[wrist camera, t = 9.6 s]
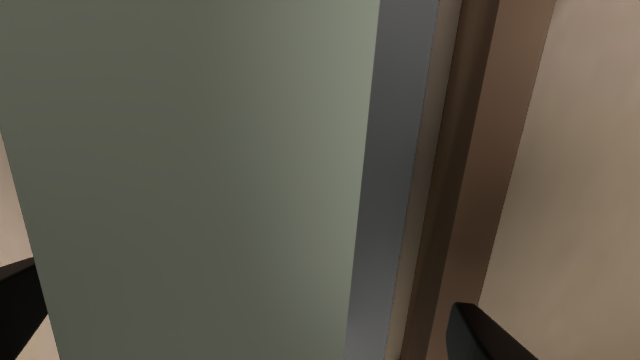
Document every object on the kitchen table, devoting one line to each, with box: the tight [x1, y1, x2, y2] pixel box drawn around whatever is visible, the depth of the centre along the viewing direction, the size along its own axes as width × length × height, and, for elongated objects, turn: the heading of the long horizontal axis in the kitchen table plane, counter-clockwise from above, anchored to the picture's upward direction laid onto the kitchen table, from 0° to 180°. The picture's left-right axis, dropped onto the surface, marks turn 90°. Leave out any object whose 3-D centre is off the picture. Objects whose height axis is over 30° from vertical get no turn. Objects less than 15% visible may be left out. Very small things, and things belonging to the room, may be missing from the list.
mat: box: [343, 0, 439, 360], centre depth 14 cm, size 8×19×1 cm, turn 177°
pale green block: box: [0, 0, 380, 360], centre depth 10 cm, size 4×12×9 cm, turn 177°
